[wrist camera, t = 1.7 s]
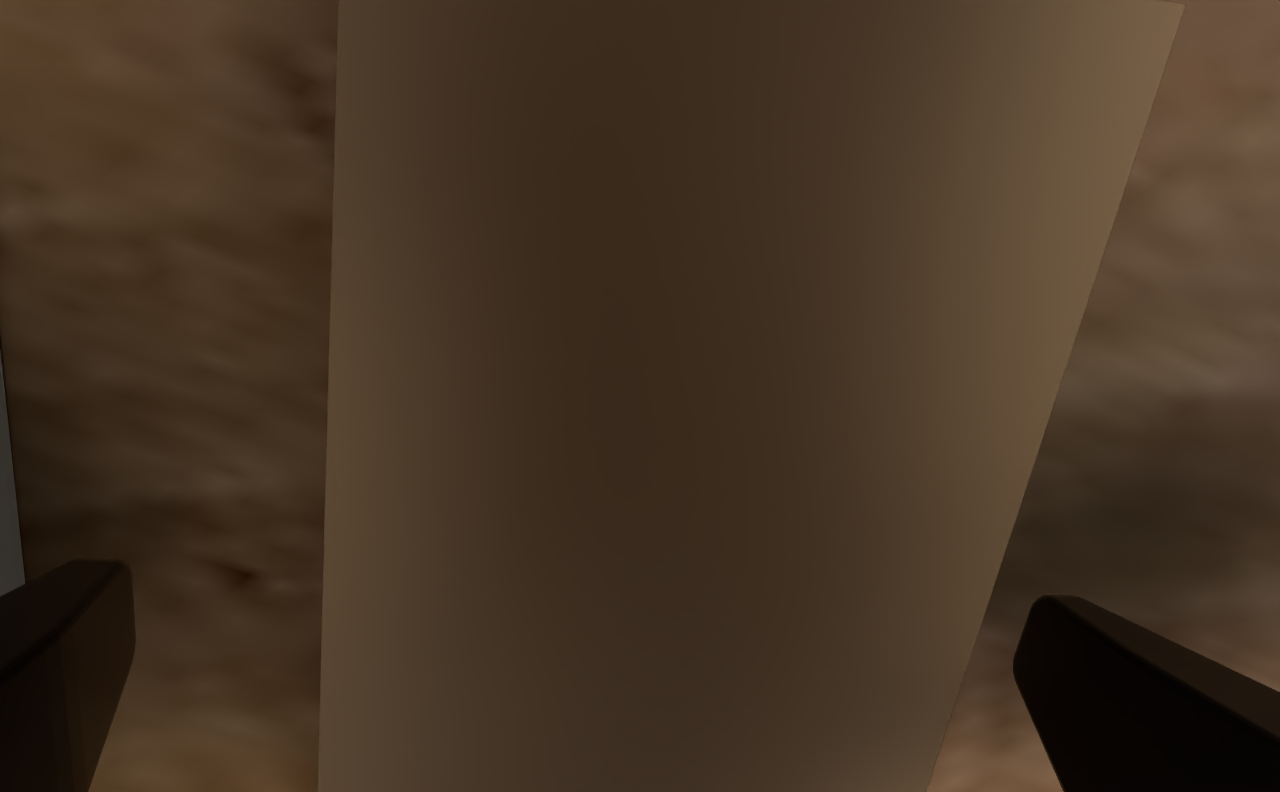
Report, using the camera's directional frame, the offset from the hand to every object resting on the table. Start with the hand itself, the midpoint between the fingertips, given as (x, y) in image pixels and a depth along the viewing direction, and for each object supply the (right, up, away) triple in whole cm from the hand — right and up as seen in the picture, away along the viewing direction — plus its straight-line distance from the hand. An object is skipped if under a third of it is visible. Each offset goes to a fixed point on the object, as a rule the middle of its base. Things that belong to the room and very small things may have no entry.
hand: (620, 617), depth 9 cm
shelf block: (0, +1, +2) cm, 2 cm away
